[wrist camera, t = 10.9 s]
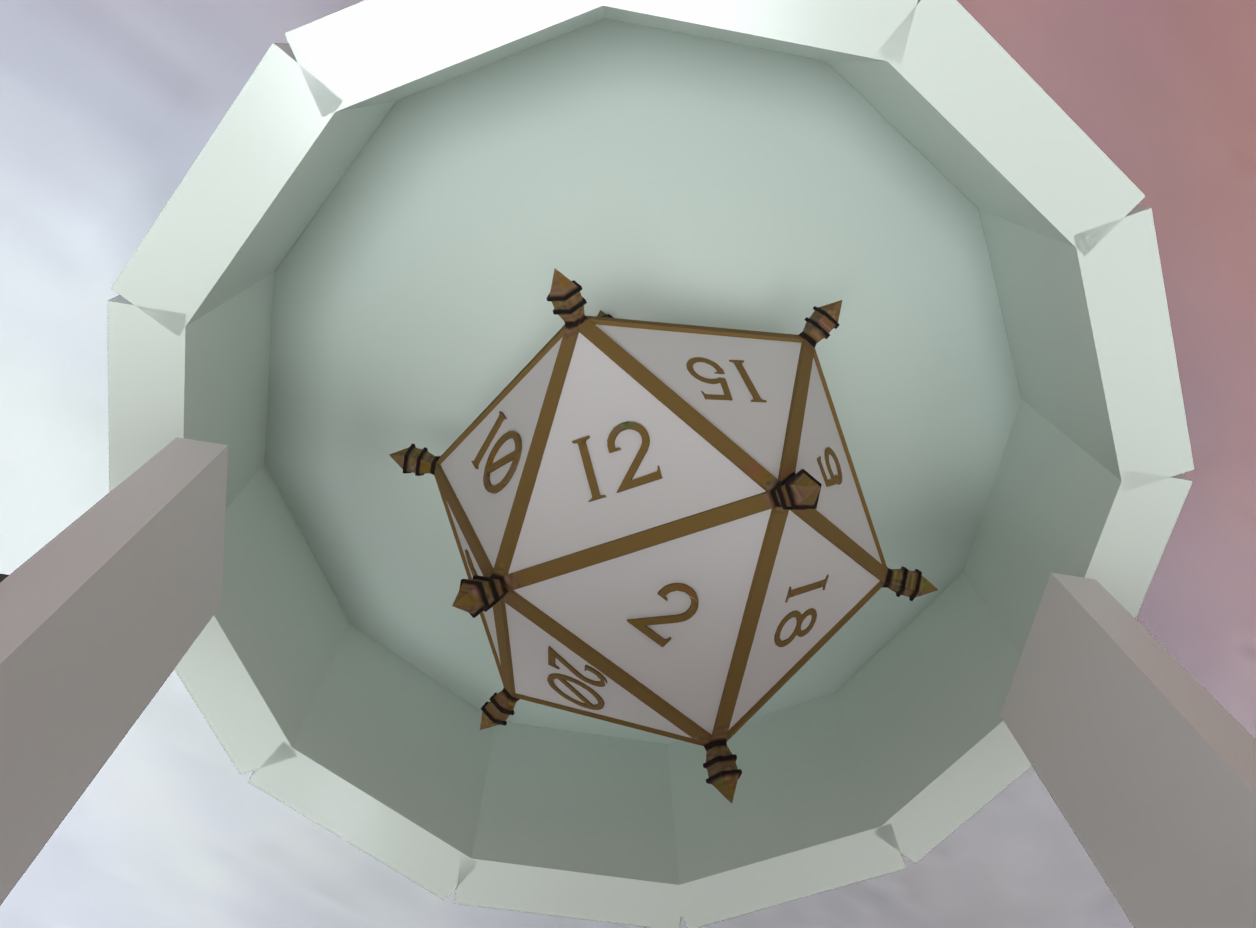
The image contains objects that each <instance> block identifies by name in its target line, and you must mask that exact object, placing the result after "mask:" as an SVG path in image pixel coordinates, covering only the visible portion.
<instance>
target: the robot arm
mask: <svg viewBox="0 0 1256 928" xmlns="http://www.w3.org/2000/svg"><path fill="white" fill-rule="evenodd" d="M227 463H228V445H223V444H217V443H210V442H204V441H197V440H191V439H184V438H178V437H176V438H175V439H174V440H173V441H171V442H170V443H169V444H168V445H167V446H165V447H164V448H163V449H162V450H161V451H159V452H158V453H157V454H156V455H154V456H153V457H152V458H151V459H150V460H148V461H147V462H146V463H145V464H144V465H142V466H141V467H140V468H139V469H138V470H136V471H135V472H134V473H133V474H131V475H130V476H129V477H128V478H127V479H125V480H124V481H123V482H122V483H121V484H119V485H118V486H117V487H116V488H114V489H113V490H112V491H111V492H110V493H108V494H107V495H106V496H105V497H104V498H102V499H101V500H100V501H99V502H97V503H96V504H95V505H94V506H93V507H91V508H90V509H89V510H88V511H87V512H85V513H84V514H83V515H82V516H80V517H79V518H78V519H77V520H76V521H74V522H73V523H72V524H71V525H70V526H68V527H67V528H66V529H65V530H63V531H62V532H61V533H60V534H59V535H57V536H56V537H55V538H54V539H53V540H51V541H50V542H49V543H48V544H46V545H45V546H44V547H43V548H42V549H40V550H39V551H38V552H37V553H36V554H34V555H33V556H32V557H31V558H30V559H28V560H27V561H26V562H25V563H23V564H22V565H21V566H20V567H19V568H17V569H16V570H15V571H14V572H13V573H11V574H10V575H5V574H0V905H1V904H2V903H3V901H4V900H5V899H6V897H7V896H8V894H9V893H10V892H11V890H12V889H13V888H14V886H15V885H16V884H17V882H18V881H19V879H20V878H21V877H22V875H23V874H24V873H25V871H26V870H27V869H28V867H29V866H30V865H31V863H32V862H33V860H34V859H35V858H36V856H37V855H38V854H39V852H40V851H41V850H42V848H43V847H44V845H45V844H46V843H47V841H48V840H49V839H50V837H51V836H52V835H53V833H54V832H55V830H56V829H57V828H58V826H59V825H60V824H61V822H62V821H63V820H64V818H65V817H66V816H67V814H68V813H69V811H70V810H71V809H72V807H73V806H74V805H75V803H76V802H77V801H78V799H79V798H80V796H81V795H82V794H83V792H84V791H85V790H86V788H87V787H88V786H89V784H90V783H91V782H92V780H93V779H94V777H95V776H96V775H97V773H98V772H99V771H100V769H101V768H102V767H103V765H104V764H105V762H106V761H107V760H108V758H109V757H110V756H111V754H112V753H113V752H114V750H115V749H116V748H117V746H118V745H119V743H120V742H121V741H122V739H123V738H124V737H125V735H126V734H127V733H128V731H129V730H130V728H131V727H132V726H133V724H134V723H135V722H136V720H137V719H138V718H139V716H140V715H141V714H142V712H143V711H144V709H145V708H146V707H147V705H148V704H149V703H150V701H151V700H152V699H153V697H154V696H155V694H156V693H157V692H158V690H159V689H160V688H161V686H162V685H163V684H164V682H165V681H166V680H167V678H168V677H169V675H170V674H171V673H172V671H173V670H174V669H175V667H176V666H177V665H178V663H179V662H180V660H181V659H182V658H183V656H184V655H185V654H186V652H187V651H188V650H189V648H190V647H191V645H192V644H193V643H194V641H195V640H196V639H197V637H198V636H199V635H200V633H201V632H202V631H203V629H204V628H205V626H206V625H207V624H208V622H209V621H210V620H211V618H212V617H213V616H214V614H215V613H216V611H217V610H218V609H219V607H220V606H221V604H222V580H223V557H224V533H225V510H226V486H227ZM1000 716H1001V717H1002V719H1003V721H1004V722H1005V724H1006V725H1007V727H1008V729H1009V730H1010V732H1011V733H1012V735H1013V736H1014V738H1015V740H1016V741H1017V743H1018V744H1019V746H1020V748H1021V749H1022V751H1023V752H1024V754H1025V755H1026V757H1027V759H1028V760H1029V762H1030V763H1031V765H1032V767H1033V768H1034V770H1035V771H1036V773H1037V774H1038V776H1039V778H1040V779H1041V781H1042V782H1043V784H1044V786H1045V787H1046V789H1047V790H1048V792H1049V793H1050V795H1051V797H1052V798H1053V800H1054V801H1055V803H1056V805H1057V806H1058V808H1059V809H1060V811H1061V812H1062V814H1063V816H1064V817H1065V819H1066V820H1067V822H1068V824H1069V825H1070V827H1071V828H1072V830H1073V831H1074V833H1075V835H1076V836H1077V838H1078V839H1079V841H1080V843H1081V844H1082V846H1083V847H1084V849H1085V850H1086V852H1087V854H1088V855H1089V857H1090V858H1091V860H1092V862H1093V863H1094V865H1095V866H1096V868H1097V869H1098V871H1099V873H1100V874H1101V876H1102V877H1103V879H1104V881H1105V882H1106V884H1107V885H1108V887H1109V888H1110V890H1111V892H1112V893H1113V895H1114V896H1115V898H1116V900H1117V901H1118V903H1119V904H1120V906H1121V907H1122V909H1123V911H1124V912H1125V914H1126V915H1127V917H1128V919H1129V920H1130V922H1131V923H1132V925H1133V926H1134V928H1256V739H1255V738H1254V737H1253V736H1252V735H1251V734H1250V733H1249V732H1248V731H1247V730H1246V729H1245V728H1244V727H1243V726H1242V725H1241V724H1240V723H1239V722H1238V721H1237V720H1236V719H1235V718H1234V717H1233V716H1232V715H1231V714H1230V713H1229V712H1228V711H1227V710H1226V709H1225V708H1224V707H1223V706H1222V705H1221V704H1220V703H1219V702H1218V701H1217V700H1216V699H1215V698H1214V697H1213V696H1212V695H1211V694H1210V693H1209V692H1208V691H1207V690H1206V689H1205V688H1204V687H1203V686H1202V685H1201V684H1200V683H1199V682H1198V681H1197V680H1196V679H1195V678H1194V677H1193V676H1192V675H1191V674H1190V673H1189V672H1188V671H1187V670H1186V669H1185V668H1184V667H1183V666H1182V665H1181V664H1180V663H1179V662H1178V661H1177V660H1176V659H1175V658H1174V657H1173V656H1172V655H1171V654H1170V653H1169V652H1168V651H1167V650H1166V649H1165V648H1164V647H1163V646H1162V645H1161V644H1160V643H1159V642H1158V641H1157V640H1156V639H1155V638H1154V637H1153V636H1152V635H1151V634H1150V633H1149V632H1148V631H1147V630H1146V629H1145V628H1144V627H1143V626H1142V625H1141V624H1140V623H1139V622H1138V621H1137V620H1136V619H1135V618H1134V617H1133V616H1132V615H1131V614H1130V613H1129V612H1128V611H1127V610H1126V609H1125V608H1124V607H1123V606H1122V605H1121V604H1120V603H1119V602H1118V601H1117V600H1116V599H1115V598H1114V597H1113V596H1112V595H1111V594H1110V593H1109V592H1108V591H1107V590H1106V589H1105V588H1104V587H1103V586H1102V585H1101V584H1100V583H1099V582H1098V581H1097V580H1096V579H1090V578H1083V577H1077V576H1070V575H1064V574H1057V573H1051V574H1050V577H1049V580H1048V583H1047V585H1046V588H1045V591H1044V594H1043V597H1042V599H1041V602H1040V605H1039V608H1038V611H1037V613H1036V616H1035V619H1034V622H1033V624H1032V627H1031V630H1030V633H1029V636H1028V638H1027V641H1026V644H1025V647H1024V650H1023V652H1022V655H1021V658H1020V661H1019V663H1018V666H1017V669H1016V672H1015V675H1014V677H1013V680H1012V683H1011V686H1010V689H1009V691H1008V694H1007V697H1006V700H1005V702H1004V705H1003V708H1002V711H1001V714H1000Z"/></svg>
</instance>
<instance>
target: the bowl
mask: <svg viewBox="0 0 1256 928" xmlns="http://www.w3.org/2000/svg"><path fill="white" fill-rule="evenodd" d="M285 36H286V38H287V40H288V42H289V44H284V43H273V44H272V45H271V47H270V48H269V50H268V51H267V53H266V54H265V56H264V57H263V59H262V60H261V62H260V63H259V65H258V66H257V68H256V69H255V71H254V73H253V74H252V76H251V77H250V79H249V80H248V82H247V83H246V85H245V86H244V88H243V89H242V91H241V92H240V94H239V95H238V97H237V98H236V100H235V101H234V103H233V104H232V106H231V107H230V109H229V110H228V112H227V113H226V115H225V116H224V118H223V119H222V121H221V122H220V124H219V125H218V127H217V128H216V130H215V132H214V133H213V135H212V136H211V138H210V139H209V141H208V142H207V144H206V145H205V147H204V148H203V150H202V151H201V153H200V154H199V156H198V157H197V159H196V160H195V162H194V163H193V165H192V166H191V168H190V169H189V171H188V172H187V174H186V175H185V177H184V178H183V180H182V181H181V183H180V184H179V186H178V187H177V189H176V191H175V192H174V194H173V195H172V197H171V198H170V200H169V201H168V203H167V204H166V206H165V207H164V209H163V210H162V212H161V213H160V215H159V216H158V218H157V219H156V221H155V222H154V224H153V225H152V227H151V228H150V230H149V231H148V233H147V234H146V236H145V237H144V239H143V240H142V242H141V243H140V245H139V246H138V248H137V250H136V251H135V253H134V254H133V256H132V257H131V259H130V260H129V262H128V263H127V265H126V266H125V268H124V269H123V271H122V272H121V274H120V275H119V277H118V278H117V280H116V281H115V283H114V284H113V286H112V287H111V289H113V290H114V291H115V292H117V293H118V294H120V295H119V296H116V297H114V298H112V299H110V300H108V301H107V313H108V402H109V490H110V492H111V491H112V490H113V489H114V488H116V487H117V486H118V485H119V484H121V483H122V482H123V481H124V480H125V479H127V478H128V477H129V476H130V475H131V474H133V473H134V472H135V471H136V470H138V469H139V468H140V467H141V466H142V465H144V464H145V463H146V462H147V461H148V460H150V459H151V458H152V457H153V456H154V455H156V454H157V453H158V452H159V451H161V450H162V449H163V448H164V447H165V446H167V445H168V444H169V443H170V442H171V441H173V440H174V439H175V438H176V437H178V438H184V439H191V440H197V441H204V442H210V443H217V444H223V445H228V463H227V486H226V510H225V533H224V557H223V580H222V604H221V606H220V607H219V609H218V610H217V611H216V613H215V614H214V616H213V617H212V618H211V620H210V621H209V622H208V624H207V625H206V626H205V628H204V629H203V631H202V632H201V633H200V635H199V636H198V637H197V639H196V640H195V641H194V643H193V644H192V645H191V647H190V648H189V650H188V651H187V652H186V654H185V655H184V656H183V658H182V659H181V660H180V662H179V663H178V665H177V666H176V667H175V671H176V673H177V674H178V676H179V677H180V679H181V681H182V682H183V684H184V685H185V687H186V689H187V690H188V692H189V693H190V695H191V697H192V698H193V700H194V701H195V703H196V705H197V706H198V708H199V710H200V711H201V713H202V714H203V716H204V718H205V719H206V721H207V722H208V724H209V726H210V727H211V729H212V730H213V732H214V734H215V735H216V737H217V738H218V740H219V742H220V743H221V745H222V746H223V748H224V750H225V751H226V753H227V754H228V756H229V758H230V759H231V761H232V762H233V764H234V766H235V767H236V769H237V771H238V772H239V774H243V773H246V772H249V771H253V770H254V771H253V773H252V775H251V777H250V779H249V781H248V782H249V783H250V784H252V785H254V786H255V787H257V788H259V789H260V790H262V791H264V792H265V793H267V794H269V795H270V796H272V797H274V798H275V799H277V800H279V801H280V802H282V803H284V804H285V805H287V806H288V807H290V808H292V809H293V810H295V811H297V812H298V813H300V814H302V815H303V816H305V817H307V818H308V819H310V820H312V821H313V822H315V823H317V824H318V825H320V826H322V827H323V828H325V829H327V830H328V831H330V832H332V833H333V834H335V835H337V836H338V837H340V838H342V839H343V840H345V841H347V842H348V843H350V844H352V845H353V846H355V847H357V848H358V849H360V850H362V851H363V852H365V853H367V854H368V855H370V856H372V857H373V858H375V859H377V860H378V861H380V862H382V863H383V864H385V865H387V866H388V867H390V868H392V869H393V870H395V871H397V872H398V873H400V874H402V875H403V876H405V877H407V878H408V879H410V880H412V881H413V882H415V883H417V884H418V885H420V886H421V887H423V888H425V889H426V890H428V891H430V892H431V893H433V894H435V895H436V896H438V897H440V898H441V899H443V900H445V899H446V898H447V897H448V896H449V895H450V894H451V893H452V892H453V891H454V890H455V889H456V894H455V900H454V903H455V904H463V905H471V906H479V907H487V908H495V909H503V910H511V911H519V912H527V913H535V914H543V915H552V916H560V917H568V918H576V919H584V920H592V921H600V922H608V923H616V924H624V925H632V926H640V927H648V928H679V924H680V920H681V917H682V918H683V920H684V922H685V924H686V927H687V928H698V927H702V926H705V925H709V924H712V923H716V922H719V921H723V920H726V919H730V918H733V917H737V916H740V915H744V914H747V913H751V912H754V911H758V910H762V909H765V908H769V907H772V906H776V905H779V904H783V903H786V902H790V901H793V900H797V899H800V898H804V897H807V896H811V895H814V894H818V893H821V892H825V891H828V890H832V889H835V888H839V887H842V886H846V885H849V884H853V883H856V882H860V881H863V880H867V879H871V878H874V877H878V876H881V875H885V874H888V873H892V872H895V871H899V870H902V869H906V867H905V864H904V861H903V858H902V855H901V853H902V854H903V855H904V856H906V857H907V858H909V859H910V860H911V861H913V862H914V863H917V862H918V861H919V860H920V859H921V858H923V857H924V856H925V855H926V854H927V853H929V852H930V851H931V850H932V849H933V848H935V847H936V846H937V845H938V844H939V843H940V842H942V841H943V840H944V839H945V838H946V837H948V836H949V835H950V834H951V833H952V832H954V831H955V830H956V829H957V828H958V827H960V826H961V825H962V824H963V823H964V822H965V821H967V820H968V819H969V818H970V817H971V816H973V815H974V814H975V813H976V812H977V811H979V810H980V809H981V808H982V807H983V806H985V805H986V804H987V803H988V802H989V801H990V800H992V799H993V798H994V797H995V796H996V795H998V794H999V793H1000V792H1001V791H1002V790H1004V789H1005V788H1006V787H1007V786H1008V785H1010V784H1011V783H1012V782H1013V781H1014V780H1016V779H1017V778H1018V777H1019V776H1020V775H1021V774H1023V773H1024V772H1025V771H1026V770H1027V769H1029V768H1030V767H1031V766H1032V765H1031V763H1030V762H1029V760H1028V759H1027V757H1026V755H1025V754H1024V752H1023V751H1022V749H1021V748H1020V746H1019V744H1018V743H1017V741H1016V740H1015V738H1014V736H1013V735H1012V733H1011V732H1010V730H1009V729H1008V727H1007V725H1006V724H1005V722H1004V721H1003V719H1002V717H1001V716H1000V714H1001V711H1002V708H1003V705H1004V702H1005V700H1006V697H1007V694H1008V691H1009V689H1010V686H1011V683H1012V680H1013V677H1014V675H1015V672H1016V669H1017V666H1018V663H1019V661H1020V658H1021V655H1022V652H1023V650H1024V647H1025V644H1026V641H1027V638H1028V636H1029V633H1030V630H1031V627H1032V624H1033V622H1034V619H1035V616H1036V613H1037V611H1038V608H1039V605H1040V602H1041V599H1042V597H1043V594H1044V591H1045V588H1046V585H1047V583H1048V580H1049V577H1050V574H1051V573H1057V574H1064V575H1070V576H1077V577H1083V578H1090V579H1096V580H1097V581H1098V582H1099V583H1100V584H1101V585H1102V586H1103V587H1104V588H1105V589H1106V590H1107V591H1108V592H1109V593H1110V594H1111V595H1112V596H1113V597H1114V598H1115V599H1116V600H1117V601H1118V602H1119V603H1120V604H1121V605H1122V606H1123V607H1124V608H1125V609H1126V610H1127V611H1128V612H1129V613H1130V614H1131V615H1132V616H1133V617H1134V618H1135V619H1136V617H1137V614H1138V612H1139V610H1140V607H1141V605H1142V602H1143V600H1144V597H1145V595H1146V593H1147V590H1148V588H1149V585H1150V583H1151V581H1152V578H1153V576H1154V573H1155V571H1156V569H1157V566H1158V564H1159V561H1160V559H1161V556H1162V554H1163V552H1164V549H1165V547H1166V544H1167V542H1168V540H1169V537H1170V535H1171V532H1172V530H1173V528H1174V525H1175V523H1176V520H1177V518H1178V515H1179V513H1180V511H1181V508H1182V506H1183V503H1184V501H1185V499H1186V496H1187V494H1188V491H1189V489H1190V487H1191V484H1192V482H1193V481H1192V480H1190V479H1189V478H1188V477H1186V476H1185V475H1184V474H1182V473H1185V472H1188V471H1191V470H1194V464H1193V458H1192V452H1191V446H1190V440H1189V434H1188V428H1187V422H1186V416H1185V410H1184V404H1183V397H1182V391H1181V385H1180V379H1179V373H1178V367H1177V361H1176V355H1175V349H1174V343H1173V337H1172V330H1171V324H1170V318H1169V312H1168V306H1167V300H1166V294H1165V288H1164V282H1163V276H1162V270H1161V263H1160V257H1159V251H1158V245H1157V239H1156V233H1155V227H1154V221H1153V215H1152V209H1151V208H1150V207H1146V206H1142V205H1138V203H1139V202H1140V201H1141V200H1142V199H1143V198H1144V197H1145V195H1144V194H1143V193H1142V192H1141V191H1140V190H1139V189H1138V188H1137V187H1136V186H1135V185H1134V184H1133V183H1132V182H1131V181H1130V179H1129V178H1128V177H1127V176H1126V175H1125V174H1124V173H1123V172H1122V171H1121V170H1120V169H1119V168H1118V167H1117V166H1116V165H1115V164H1114V163H1113V162H1112V161H1111V160H1110V159H1109V158H1108V157H1107V156H1106V155H1105V154H1104V153H1103V152H1102V150H1101V149H1100V148H1099V147H1098V146H1097V145H1096V144H1095V143H1094V142H1093V141H1092V140H1091V139H1090V138H1089V137H1088V136H1087V135H1086V134H1085V133H1084V132H1083V131H1082V130H1081V129H1080V128H1079V127H1078V126H1077V125H1076V124H1075V122H1074V121H1073V120H1072V119H1071V118H1070V117H1069V116H1068V115H1067V114H1066V113H1065V112H1064V111H1063V110H1062V109H1061V108H1060V107H1059V106H1058V105H1057V104H1056V103H1055V102H1054V101H1053V100H1052V99H1051V98H1050V97H1049V96H1048V95H1047V93H1046V92H1045V91H1044V90H1043V89H1042V88H1041V87H1040V86H1039V85H1038V84H1037V83H1036V82H1035V81H1034V80H1033V79H1032V78H1031V77H1030V76H1029V75H1028V74H1027V73H1026V72H1025V71H1024V70H1023V69H1022V68H1021V67H1020V66H1019V64H1018V63H1017V62H1016V61H1015V60H1014V59H1013V58H1012V57H1011V56H1010V55H1009V54H1008V53H1007V52H1006V51H1005V50H1004V49H1003V48H1002V47H1001V46H1000V45H999V44H998V43H997V42H996V41H995V40H994V39H993V38H992V37H991V35H990V34H989V33H988V32H987V31H986V30H985V29H984V28H983V27H982V26H981V25H980V24H979V23H978V22H977V21H976V20H975V19H974V18H973V17H972V16H971V15H970V14H969V13H968V12H967V11H966V10H965V9H964V8H963V6H962V5H961V4H960V3H959V2H958V1H957V0H365V1H362V2H360V3H358V4H355V5H353V6H350V7H348V8H345V9H343V10H340V11H338V12H336V13H333V14H331V15H328V16H326V17H323V18H321V19H319V20H316V21H314V22H311V23H309V24H306V25H304V26H301V27H299V28H297V29H294V30H292V31H289V32H287V33H285ZM555 268H556V269H557V270H558V271H559V272H561V273H562V274H563V275H564V276H565V277H567V278H568V279H569V280H570V281H573V280H574V281H576V282H577V283H578V284H579V285H581V286H582V290H581V291H580V293H581V296H582V297H583V298H584V299H586V302H587V303H586V304H585V305H584V314H585V315H586V316H597V315H598V313H599V312H600V310H601V311H603V312H604V313H605V314H610V315H611V316H612V317H613V318H619V319H630V320H641V321H652V322H663V323H674V324H685V325H696V326H707V327H718V328H729V329H740V330H751V331H762V332H773V333H784V334H795V335H799V334H800V333H801V332H803V329H804V327H805V324H806V321H805V320H804V319H805V318H806V317H807V318H810V316H811V315H812V314H813V312H814V309H813V307H814V306H816V307H821V306H825V305H828V304H831V303H834V302H837V301H840V300H842V305H841V310H840V315H839V320H838V323H839V324H840V325H839V327H838V328H837V329H835V328H833V329H832V331H831V332H830V333H829V334H830V336H829V337H828V338H827V339H825V338H824V339H822V340H821V341H819V342H818V343H817V344H816V346H815V350H816V353H817V356H818V359H819V362H820V365H821V368H822V371H823V374H824V377H825V380H826V383H827V386H828V389H829V392H830V395H831V398H832V401H833V404H834V407H835V411H836V414H837V417H838V420H839V423H840V426H841V429H842V432H843V435H844V438H845V441H846V444H847V447H848V450H849V453H850V456H851V459H852V462H853V465H854V468H855V471H856V474H857V477H858V480H859V483H860V486H861V489H862V492H863V496H864V499H865V502H866V505H867V508H868V511H869V514H870V517H871V520H872V523H873V526H874V529H875V532H876V535H877V538H878V541H879V544H880V547H881V550H882V553H883V556H884V559H885V562H886V565H887V567H888V568H890V569H901V567H906V568H907V569H908V570H910V571H915V569H918V570H920V571H921V572H922V576H923V577H924V578H926V579H927V580H928V581H929V582H930V583H931V584H933V585H934V586H935V587H936V588H937V589H938V590H937V591H934V592H931V593H928V594H925V595H922V596H919V597H916V598H914V600H913V601H910V600H909V597H907V596H903V595H900V597H897V596H896V593H895V592H894V591H892V590H890V589H889V588H883V587H882V588H881V589H880V590H879V591H878V592H877V593H876V594H875V595H874V596H873V597H872V598H871V599H870V600H869V601H868V602H867V603H866V604H865V605H864V606H863V607H862V608H861V609H860V610H859V611H858V612H857V613H856V614H855V615H854V616H853V617H852V618H851V619H850V620H849V621H848V622H847V623H846V624H845V625H844V626H843V627H842V628H841V629H840V630H839V631H838V632H837V633H836V634H835V635H834V636H833V637H832V638H831V639H830V640H829V641H828V642H827V643H826V644H825V645H824V646H823V647H822V648H821V649H819V650H818V651H817V652H816V653H815V654H814V655H813V656H812V657H811V658H810V659H809V660H808V661H807V662H806V663H805V664H804V665H803V666H802V667H801V668H800V669H799V670H798V671H797V672H796V673H795V674H794V675H793V676H792V677H791V678H790V679H789V680H788V681H787V682H786V683H785V684H784V685H783V686H782V687H781V688H780V689H779V690H778V691H777V692H776V693H775V694H774V695H773V696H772V697H771V698H770V699H769V700H768V701H767V702H766V703H765V704H764V705H763V706H762V707H761V708H760V709H759V710H758V711H757V712H756V713H755V714H754V715H753V716H752V717H751V718H750V719H749V720H748V721H747V722H746V723H745V724H744V725H743V726H742V727H741V728H740V729H739V730H738V731H737V732H736V733H735V734H734V735H733V736H732V737H731V738H730V739H729V740H728V741H727V746H728V748H729V749H730V751H731V753H732V754H733V755H734V754H736V755H737V760H736V765H737V768H738V769H741V770H742V774H741V776H740V778H739V779H738V781H737V785H736V789H735V793H734V797H733V802H732V804H731V803H730V802H729V801H728V800H727V799H726V798H725V797H724V796H723V795H722V794H721V793H720V792H719V791H718V790H717V789H716V788H715V787H714V786H713V785H712V784H708V783H706V779H708V778H709V777H708V772H707V769H706V768H703V764H704V763H706V752H707V751H706V750H705V748H704V746H701V745H697V744H693V743H689V742H685V741H681V740H677V739H673V738H670V737H666V736H662V735H658V734H654V733H650V732H646V731H642V730H638V729H635V728H631V727H627V726H623V725H619V724H615V723H611V722H607V721H604V720H600V719H596V718H592V717H588V716H584V715H580V714H576V713H572V712H569V711H565V710H561V709H557V708H553V707H549V706H545V705H541V704H537V703H534V702H530V701H526V700H522V699H520V700H518V701H517V702H516V704H515V706H514V709H513V710H514V715H513V716H512V715H509V717H508V718H507V719H506V722H507V724H506V726H504V725H497V726H493V727H490V728H486V729H483V730H480V724H481V717H482V710H481V709H480V708H481V707H482V706H483V705H484V704H485V703H486V702H490V700H489V699H490V698H491V696H492V695H493V694H494V693H495V692H496V693H497V694H498V693H499V692H501V691H502V690H503V688H504V686H503V683H502V680H501V677H500V674H499V671H498V668H497V665H496V662H495V658H494V655H493V652H492V649H491V646H490V643H489V640H488V637H487V634H486V631H485V628H484V625H483V622H482V619H481V616H480V614H479V615H478V616H477V617H475V618H473V617H472V616H471V615H470V614H469V613H468V612H466V611H463V610H461V609H458V608H456V607H453V606H452V605H453V603H454V601H455V598H456V596H457V594H458V592H459V589H460V582H461V579H468V577H467V573H466V570H465V567H464V564H463V561H462V558H461V555H460V552H459V549H458V546H457V543H456V540H455V537H454V534H453V531H452V528H451V525H450V522H449V519H448V516H447V513H446V510H445V507H444V504H443V501H442V498H441V495H440V492H439V488H438V485H437V482H436V479H435V476H434V475H433V474H430V473H427V474H424V475H422V476H416V475H415V473H413V472H412V473H406V474H405V473H403V469H402V468H401V467H400V466H399V465H398V464H397V463H396V462H395V461H394V460H393V459H392V458H391V457H390V455H389V454H392V453H395V452H397V451H400V450H403V449H406V448H408V447H410V446H411V445H412V443H413V444H415V446H416V448H419V449H423V448H424V447H425V448H427V449H428V452H429V453H431V454H433V455H434V456H441V455H442V454H443V453H444V452H445V451H446V450H447V449H448V448H449V447H450V446H451V445H452V444H453V443H454V441H455V440H456V439H457V438H458V437H459V436H460V435H461V434H462V433H463V432H464V431H465V430H466V429H467V428H468V427H469V426H470V424H471V423H472V422H473V421H474V420H475V419H476V418H477V417H478V416H479V415H480V414H481V413H482V412H483V411H484V410H485V409H486V407H487V406H488V405H489V404H490V403H491V402H492V401H493V400H494V399H495V398H496V397H497V396H498V395H499V394H500V393H501V392H502V391H503V389H504V388H505V387H506V386H507V385H508V384H509V383H510V382H511V381H512V380H513V379H514V378H515V377H516V376H517V375H518V374H519V372H520V371H521V370H522V369H523V368H524V367H525V366H526V365H527V364H528V363H529V362H530V361H531V360H532V359H533V358H534V357H535V355H536V354H537V353H538V352H539V351H540V350H541V349H542V348H543V347H544V346H545V345H546V344H547V343H548V342H549V341H550V340H551V338H552V337H553V336H554V335H555V334H556V333H557V332H558V331H559V330H560V329H561V328H562V327H563V326H564V325H565V322H564V320H563V319H562V318H561V317H560V316H559V315H558V314H556V315H554V313H553V310H554V306H553V304H552V302H551V301H547V299H546V298H547V296H548V295H549V293H550V291H551V285H552V280H553V274H554V269H555Z"/></svg>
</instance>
